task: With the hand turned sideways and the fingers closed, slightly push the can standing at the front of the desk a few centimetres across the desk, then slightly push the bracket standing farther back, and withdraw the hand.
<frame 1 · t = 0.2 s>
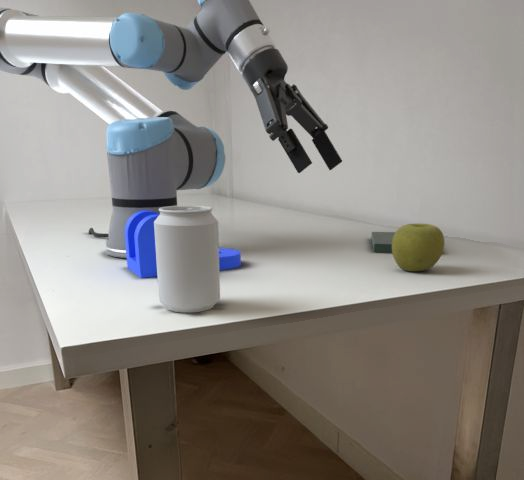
hand: (321, 167, 96), 15 cm above the table, tool tilted 35°, fingers open, 13 cm apart
can: (190, 307, 69), on the table
bracket: (188, 268, 91), on the table
apple: (414, 271, 89), on the table
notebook: (402, 246, 110), on the table
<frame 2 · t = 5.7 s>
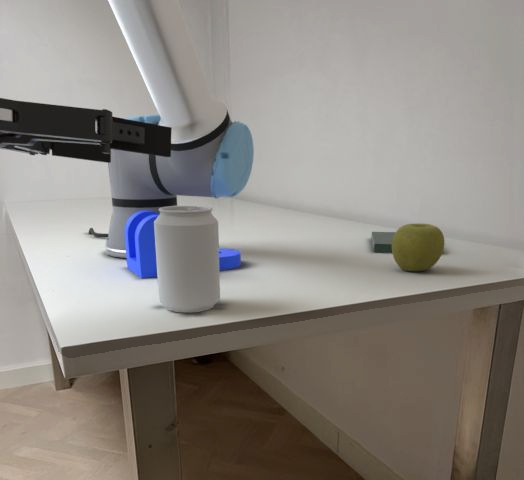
hand: (137, 146, 59), 19 cm above the table, tool horizontal, fingers open, 13 cm apart
nothing on the table moved.
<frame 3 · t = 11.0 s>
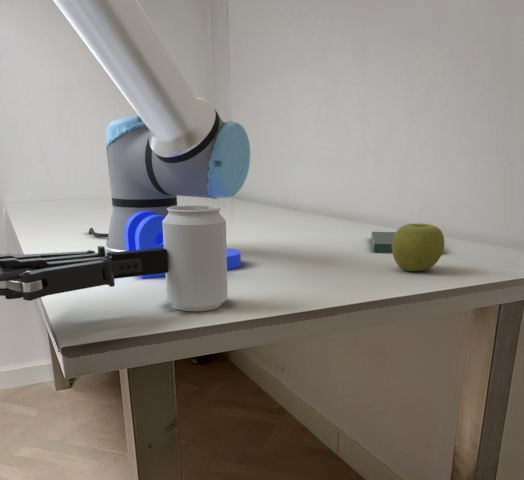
hand: (164, 259, 65), 6 cm above the table, tool horizontal, fingers closed
can: (197, 306, 69), on the table, touching gripper
everything else where it was.
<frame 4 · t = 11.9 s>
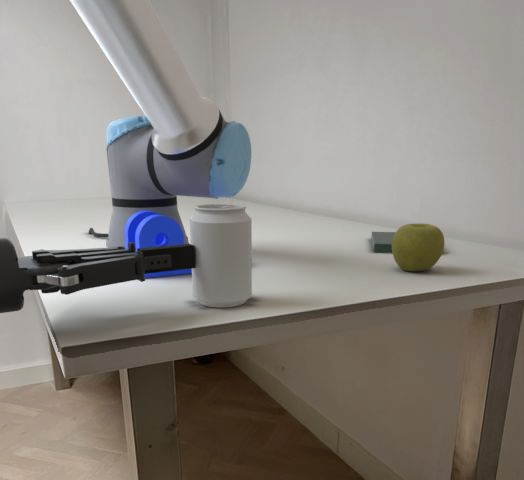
hand: (192, 255, 67), 6 cm above the table, tool horizontal, fingers closed
can: (222, 302, 71), on the table, touching gripper
everything else where it was.
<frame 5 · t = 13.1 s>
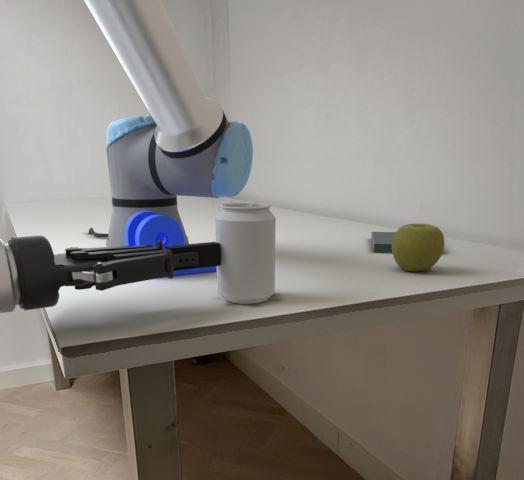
hand: (217, 253, 68), 6 cm above the table, tool horizontal, fingers closed
can: (246, 299, 72), on the table, touching gripper
everything else where it was.
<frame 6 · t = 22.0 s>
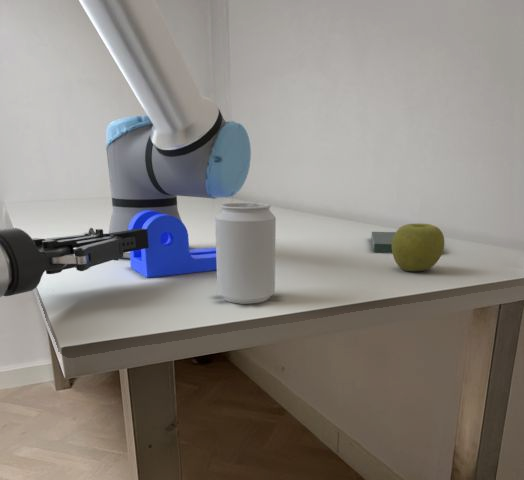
hand: (144, 238, 81), 6 cm above the table, tool horizontal, fingers closed
can: (246, 299, 72), on the table
bracket: (192, 268, 91), on the table, touching gripper
everything else where it was.
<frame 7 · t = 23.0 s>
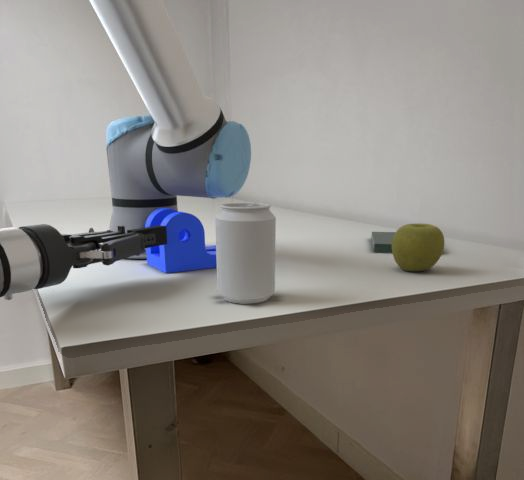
hand: (163, 234, 84), 6 cm above the table, tool horizontal, fingers closed
bracket: (206, 264, 94), on the table, touching gripper
everything else where it was.
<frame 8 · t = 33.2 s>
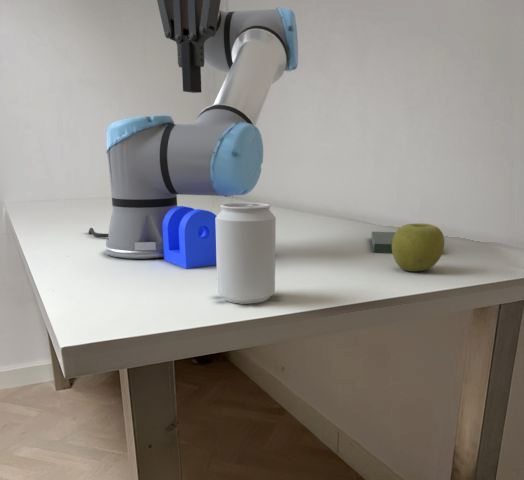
hand: (192, 91, 84), 26 cm above the table, tool pointing down, fingers closed
bracket: (221, 259, 98), on the table
everything else where it was.
at the end: can moved 7.9 cm from its start; can tilted 0°; bracket moved 9.1 cm from its start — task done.
